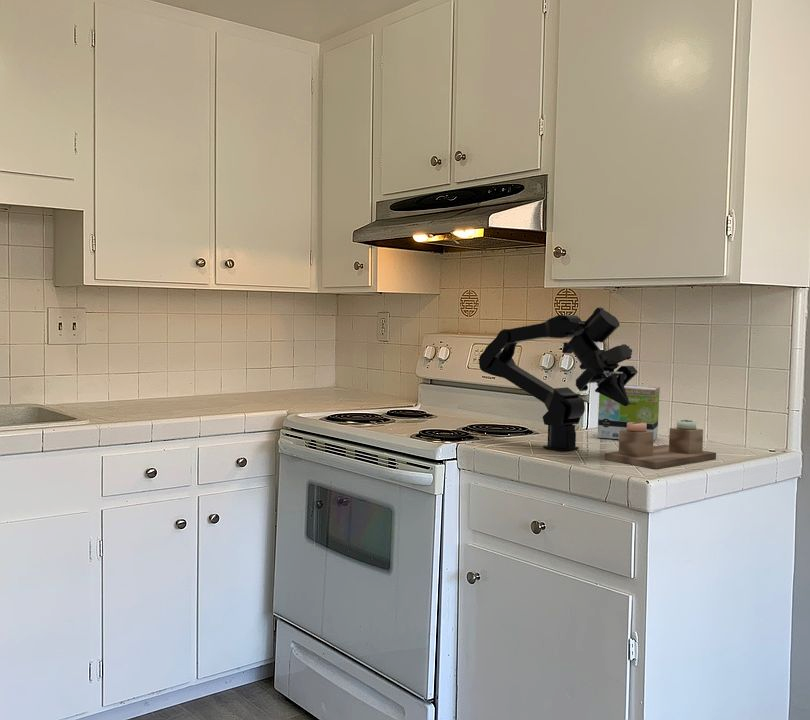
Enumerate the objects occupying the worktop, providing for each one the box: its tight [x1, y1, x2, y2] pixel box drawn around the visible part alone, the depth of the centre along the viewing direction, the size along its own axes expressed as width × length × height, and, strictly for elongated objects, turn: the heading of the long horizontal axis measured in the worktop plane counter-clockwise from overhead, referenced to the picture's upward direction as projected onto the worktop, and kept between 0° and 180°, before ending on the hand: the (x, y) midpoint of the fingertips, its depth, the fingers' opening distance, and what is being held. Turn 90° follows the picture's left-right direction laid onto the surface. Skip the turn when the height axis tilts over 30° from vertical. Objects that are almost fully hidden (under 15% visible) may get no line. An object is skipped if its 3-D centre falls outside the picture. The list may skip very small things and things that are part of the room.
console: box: [604, 426, 717, 470], centre depth 188 cm, size 14×24×7 cm, turn 128°
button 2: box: [676, 419, 697, 429], centre depth 191 cm, size 4×4×2 cm
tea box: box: [597, 384, 660, 442], centre depth 221 cm, size 15×10×15 cm, turn 65°
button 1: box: [627, 422, 647, 432], centre depth 185 cm, size 4×4×2 cm
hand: (627, 405), depth 187 cm, fingers closed
